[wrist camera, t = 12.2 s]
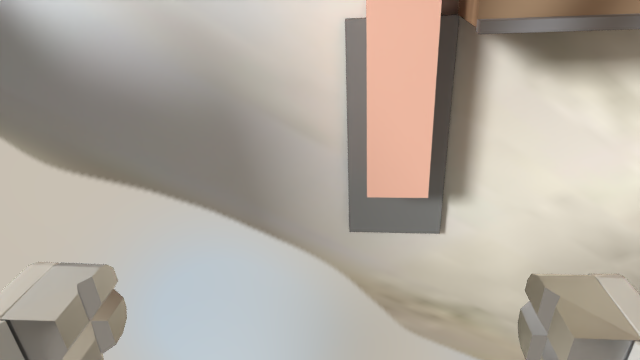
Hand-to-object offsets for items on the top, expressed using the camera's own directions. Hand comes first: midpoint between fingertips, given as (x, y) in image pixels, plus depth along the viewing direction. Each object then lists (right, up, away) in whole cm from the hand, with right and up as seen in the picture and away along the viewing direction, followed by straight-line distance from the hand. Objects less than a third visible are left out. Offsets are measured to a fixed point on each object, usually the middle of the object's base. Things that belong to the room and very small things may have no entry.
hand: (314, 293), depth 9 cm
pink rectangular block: (+5, +9, +20) cm, 23 cm away
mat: (+6, +5, +23) cm, 24 cm away
